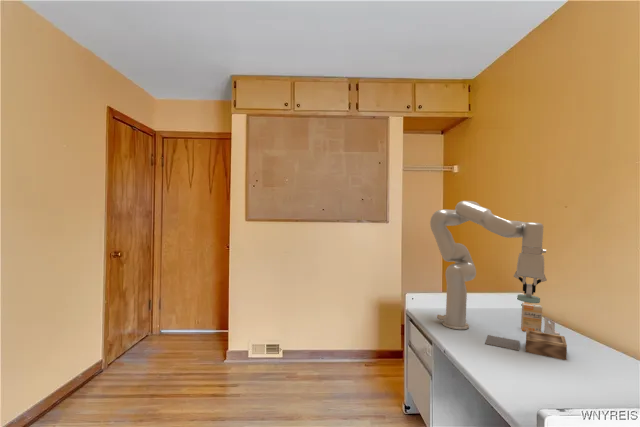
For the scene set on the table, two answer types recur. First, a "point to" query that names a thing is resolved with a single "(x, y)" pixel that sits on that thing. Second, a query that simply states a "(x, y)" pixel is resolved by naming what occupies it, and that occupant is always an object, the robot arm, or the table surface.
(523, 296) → the cover
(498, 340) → the mat
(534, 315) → the supplement box
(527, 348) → the tray
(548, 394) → the table surface
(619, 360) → the table surface
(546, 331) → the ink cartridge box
